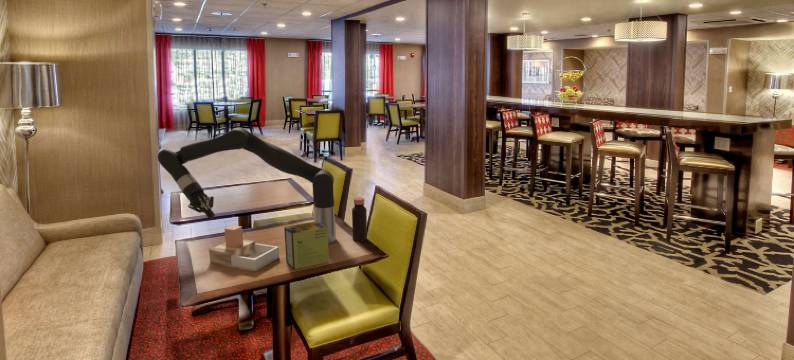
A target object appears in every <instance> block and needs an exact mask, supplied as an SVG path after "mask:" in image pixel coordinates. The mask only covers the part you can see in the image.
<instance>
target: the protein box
mask: <svg viewBox="0 0 794 360" xmlns="http://www.w3.org/2000/svg"><path fill="white" fill-rule="evenodd" d="M283 228H284V241H285V242H284V243H285V244H284V246H285V260H286V261H285V262H286V263H287V264H288V265H290V267H292V269H294V270H298V269H303V268H307V267H312V266H316V265H321V264H325V263H329V261H330V257H329V256H330V255H329V253H330V252H329V244H328V227H327V226H325V225H324V224H322V223H320V222H319V221H315V220H314V221H309V222H305V223H304V222H303V223H299V224H294V225H288V226H284V227H283Z"/></svg>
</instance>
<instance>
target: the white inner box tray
mask: <svg viewBox="0 0 794 360" xmlns="http://www.w3.org/2000/svg"><path fill="white" fill-rule="evenodd" d="M254 245H255V253H254V254H252V255H250V256H248V257H242V256H236V255H231V265H232V267H231V268H233V269H234V268H235V269H240V270H245V271H251V272H258V271H259V270H261V269H263V268H264V267H266V266H269V264H271V263H273V262H275V261H276V260H279V259H280V247H279V246H275V245H270V244H264V243H258V242H255V244H254Z"/></svg>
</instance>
